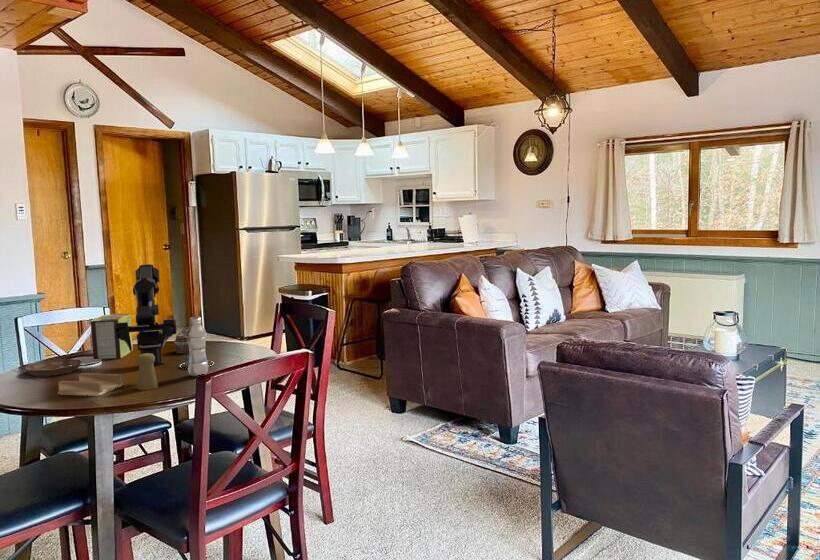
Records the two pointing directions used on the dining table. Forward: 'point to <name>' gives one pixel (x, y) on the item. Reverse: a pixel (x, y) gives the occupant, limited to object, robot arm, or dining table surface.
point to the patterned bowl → (188, 361)
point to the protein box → (109, 337)
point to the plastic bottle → (196, 347)
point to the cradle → (90, 384)
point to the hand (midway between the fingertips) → (146, 349)
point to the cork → (146, 372)
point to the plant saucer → (39, 367)
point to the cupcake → (182, 341)
